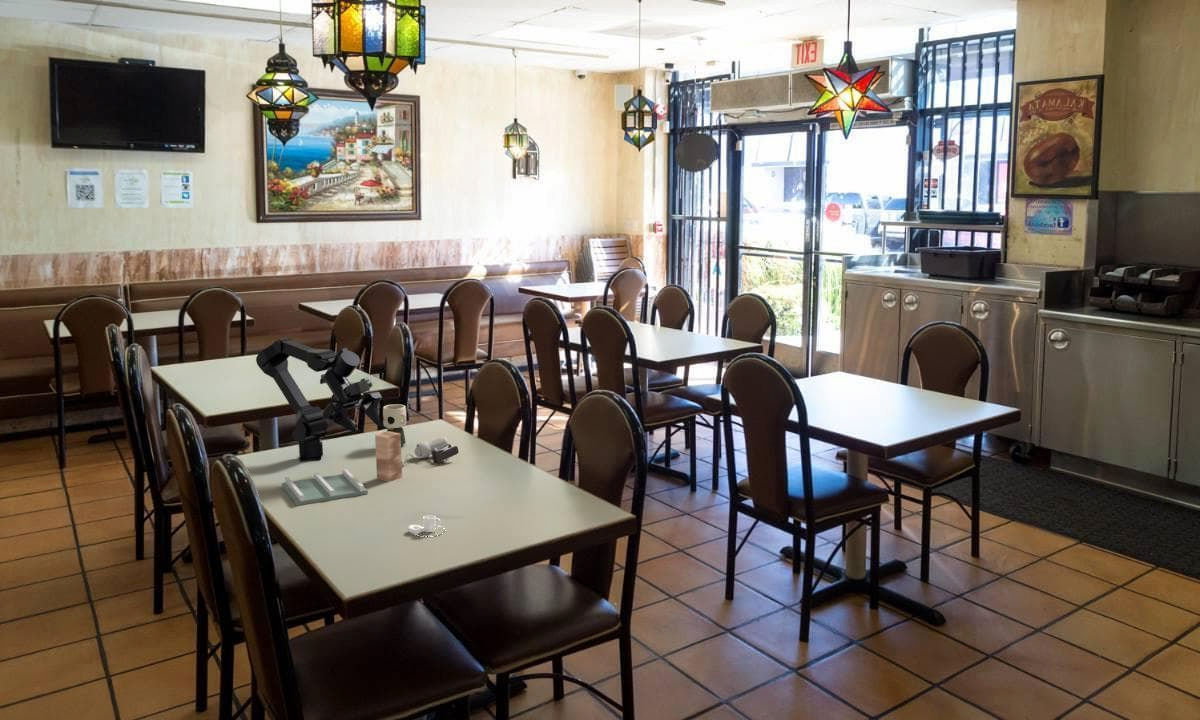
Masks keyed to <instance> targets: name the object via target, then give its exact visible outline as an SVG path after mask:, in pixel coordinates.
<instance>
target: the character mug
mask: <svg viewBox="0 0 1200 720" xmlns="http://www.w3.org/2000/svg"><path fill="white" fill-rule="evenodd" d="M406 413H407V410H406V405H404V404H399V403H398V404H397V403H396V404H387V405H384V406H383V407H382V416H383V426H384V427H385V428H387V430H386V432H387V431H390V432H395V433H400V434H401V446H403V445H405V444H406V436H405V431H404V428H403V427H405V426H406V425H407V415H406Z"/></svg>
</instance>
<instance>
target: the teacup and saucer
mask: <svg viewBox="0 0 1200 720" xmlns="http://www.w3.org/2000/svg"><path fill="white" fill-rule="evenodd" d="M436 521H439V523H438V525H437V526H438V527H443V526H441V519H440V518H438V517H437V516H436V515H434V514H427V515H424V516H422V524H423V526H421V525H419V524H411V525H409V526H408V527H407V531H408V532H409V533H411V534H413V535H414V536H416V535H417V536H416V537H418V536H419V535H418V534H421V533H423V532H425V533H426V532H432V533H435V531H436V530H437V529H438V527H437V528H435V526H436ZM423 528H424V529H423ZM443 529H446V528H445V527H444V528H443ZM445 531H447V529H446V530H445ZM436 535H437V534H436ZM442 535H444V534H443V533H442ZM424 536H425V537H424ZM427 536H428V537H427ZM429 536H430V537H429ZM436 537H439V536H438V535H437V536H436ZM419 538H435V537H434V536H432V535H423V536H420V537H419Z"/></svg>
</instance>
